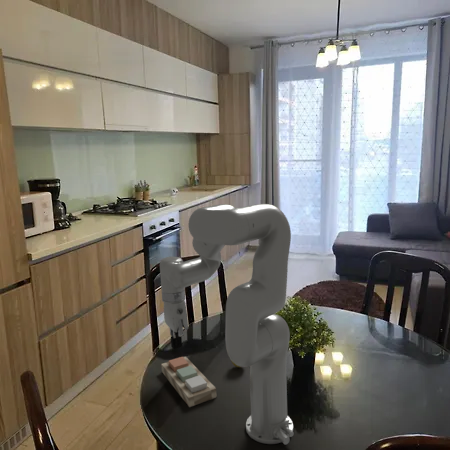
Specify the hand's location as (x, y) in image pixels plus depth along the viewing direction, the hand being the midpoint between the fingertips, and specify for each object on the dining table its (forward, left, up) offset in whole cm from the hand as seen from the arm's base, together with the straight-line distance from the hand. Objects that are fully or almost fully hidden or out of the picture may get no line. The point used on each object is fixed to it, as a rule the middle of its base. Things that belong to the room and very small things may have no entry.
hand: (176, 347), depth 137 cm
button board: (-7, 0, -10) cm, 12 cm away
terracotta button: (0, 0, -8) cm, 8 cm away
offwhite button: (-14, 0, -8) cm, 16 cm away
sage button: (-7, 0, -8) cm, 11 cm away
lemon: (-8, -19, -10) cm, 23 cm away
